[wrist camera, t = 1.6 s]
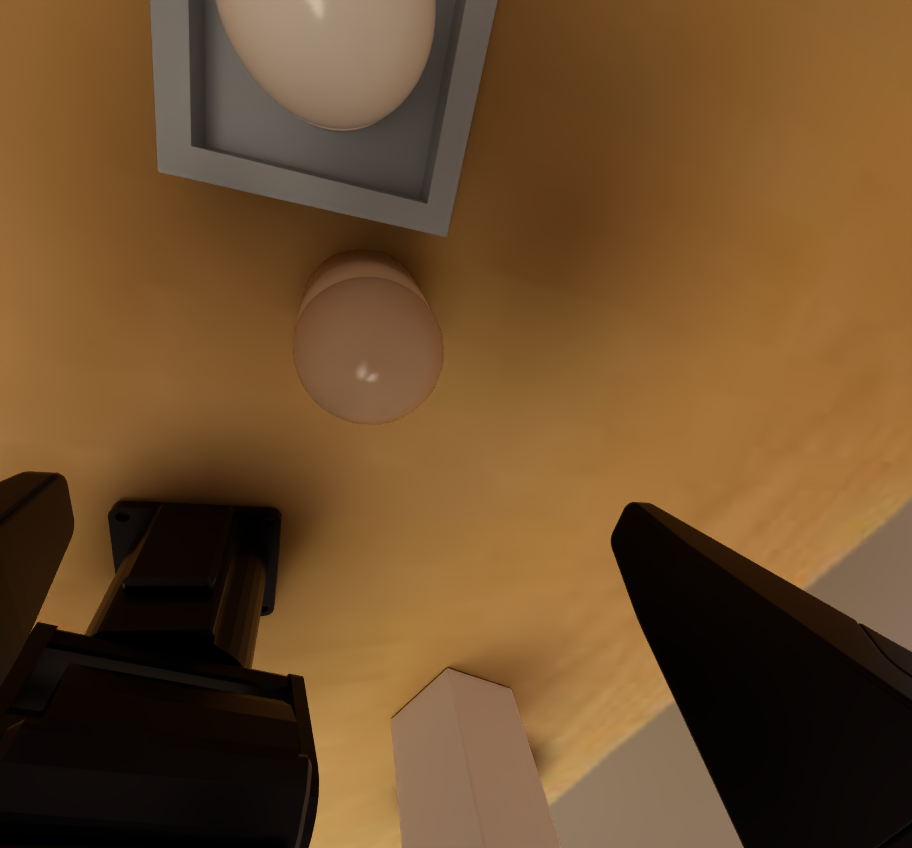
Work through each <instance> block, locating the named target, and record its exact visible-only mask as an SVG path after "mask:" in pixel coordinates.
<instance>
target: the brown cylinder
mask: <svg viewBox="0 0 912 848" xmlns="http://www.w3.org/2000/svg"><path fill="white" fill-rule="evenodd" d="M443 349H444V347H443V339H442V334H441V330H440V327H439V325H438V322H437V320H436V318H435V316H434V314H433V312H432V310H431V309H430V307H429V305H428V303H427V301H426V300H425V298H424V296H423V294H422V293H421V291H420V289H419V287H418V285H417V284H416V282H415V280H414V278H413V277H412V276H411V274H410V273H409V272H408V271H407V270H406V269H405V267H404V266H403V265H401V264H400V263H399V262H397V261H396V260H394V259H393V258H391V257H389V256H387V255H385V254H382V253H379V252H376V251H371V250H350V251H345V252H342V253H339V254H336V255H334V256H332V257H330V258H329V259H327V260H326V261H324V262H323V263H322V264H321V265H319V266H318V268H317V269H316V270H315V271H314V272H313V274H312V275H311V277H310V278H309V280H308V282H307V284H306V287H305V290H304V293H303V297H302V301H301V306H300V310H299V314H298V319H297V323H296V327H295V332H294V338H293V357H294V364H295V367H296V370H297V374H298V376H299V378H300V381H301V383H302V385H303V386H304V388H305V390H306V391H307V392H308V394H309V395H310V396H311V397H312V398H313V400H314V401H315V402H316V403H317V404H318V405H319V406H321V407H322V408H323V409H324V410H326V411H327V412H329V413H330V414H332V415H334V416H336V417H338V418H340V419H343V420H345V421H349V422H352V423H357V424H364V425H376V424H384V423H389V422H392V421H395V420H398V419H400V418H402V417H404V416H406V415H408V414H410V413H411V412H413V411H414V410H415V409H417V408H418V407H419V406H420V405H421V404H422V403H423V402H424V401H425V400H426V399H427V398H428V396H429V395H430V394H431V392H432V391H433V389H434V387H435V385H436V383H437V381H438V379H439V376H440V373H441V369H442V364H443Z"/></svg>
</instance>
